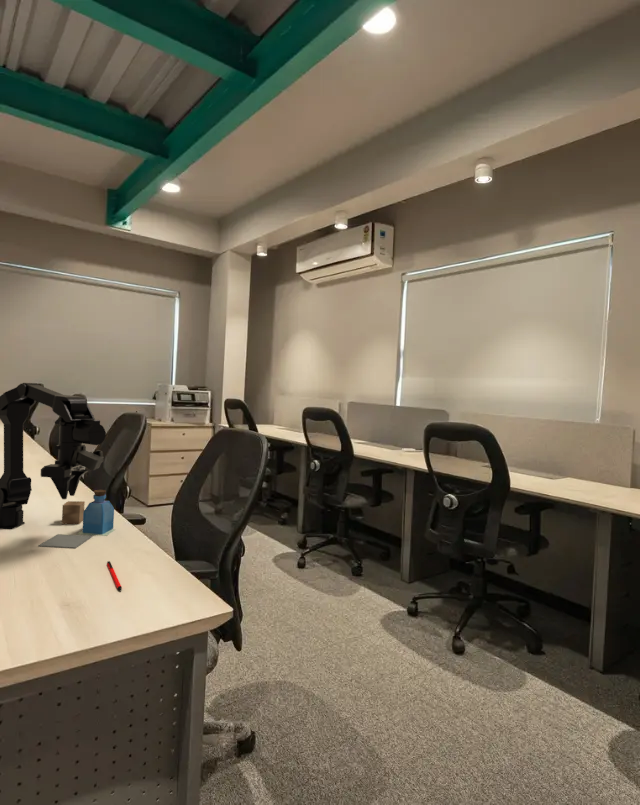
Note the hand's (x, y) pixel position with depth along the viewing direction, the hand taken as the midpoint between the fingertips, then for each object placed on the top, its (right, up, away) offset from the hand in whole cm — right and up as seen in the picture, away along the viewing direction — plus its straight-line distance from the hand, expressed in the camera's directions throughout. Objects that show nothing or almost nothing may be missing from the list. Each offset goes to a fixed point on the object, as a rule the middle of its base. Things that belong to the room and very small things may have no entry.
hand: (68, 497), depth 136 cm
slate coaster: (-1, -13, 0) cm, 13 cm away
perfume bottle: (+3, -12, +11) cm, 17 cm away
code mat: (+3, -12, +11) cm, 17 cm away
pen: (+22, -15, -21) cm, 34 cm away
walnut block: (-8, -11, +18) cm, 23 cm away
